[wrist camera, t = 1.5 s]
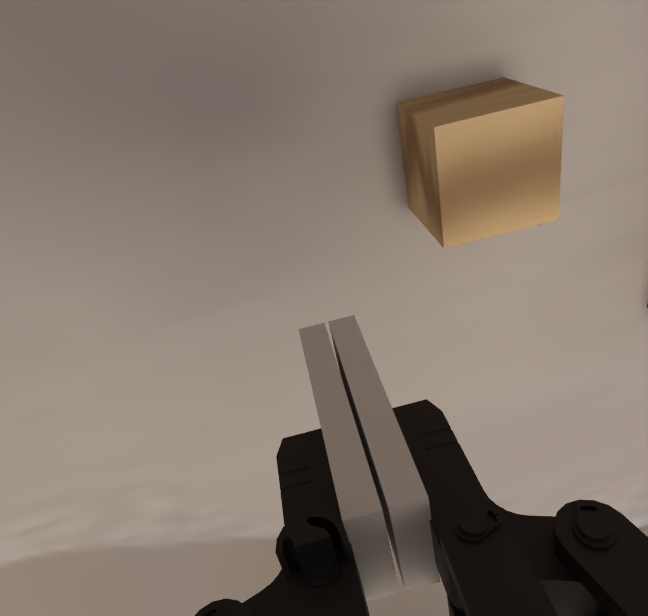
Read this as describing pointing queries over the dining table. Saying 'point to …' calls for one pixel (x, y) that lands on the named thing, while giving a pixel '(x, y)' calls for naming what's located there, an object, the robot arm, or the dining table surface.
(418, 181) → the block
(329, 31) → the dining table surface
